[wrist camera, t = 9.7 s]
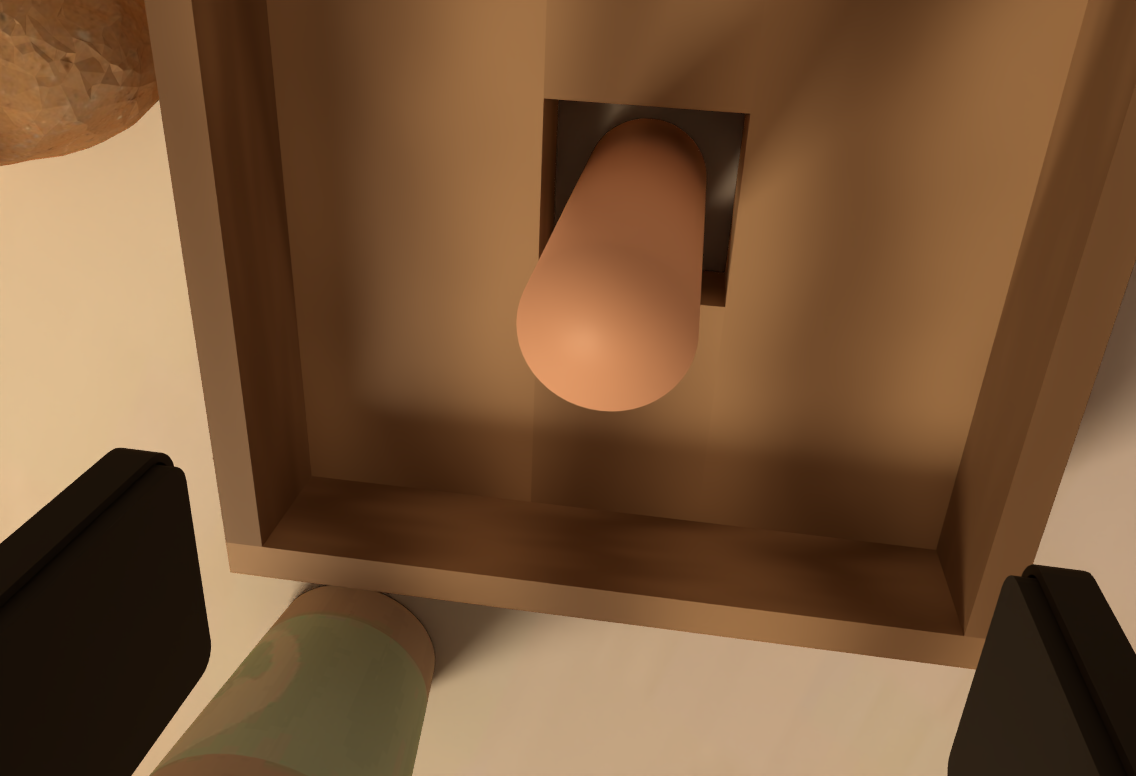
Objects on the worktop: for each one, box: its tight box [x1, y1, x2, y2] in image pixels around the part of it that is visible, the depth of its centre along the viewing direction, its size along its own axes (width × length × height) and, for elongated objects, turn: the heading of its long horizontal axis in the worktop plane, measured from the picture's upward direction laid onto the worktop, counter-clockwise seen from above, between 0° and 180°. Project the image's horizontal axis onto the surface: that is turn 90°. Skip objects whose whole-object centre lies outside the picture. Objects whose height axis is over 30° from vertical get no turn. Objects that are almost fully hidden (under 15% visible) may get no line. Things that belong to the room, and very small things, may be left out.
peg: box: [516, 118, 707, 411], centre depth 21 cm, size 3×3×10 cm
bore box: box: [144, 0, 1136, 669], centre depth 23 cm, size 20×20×6 cm
